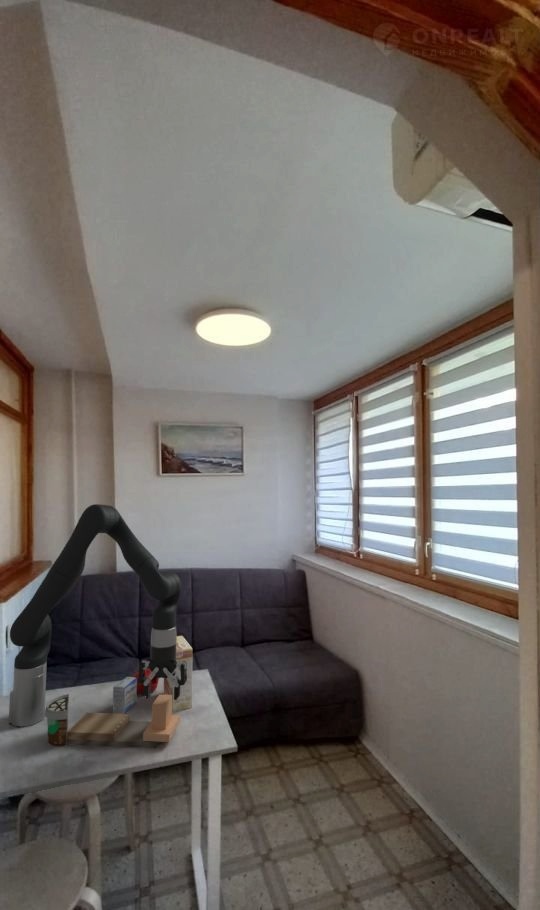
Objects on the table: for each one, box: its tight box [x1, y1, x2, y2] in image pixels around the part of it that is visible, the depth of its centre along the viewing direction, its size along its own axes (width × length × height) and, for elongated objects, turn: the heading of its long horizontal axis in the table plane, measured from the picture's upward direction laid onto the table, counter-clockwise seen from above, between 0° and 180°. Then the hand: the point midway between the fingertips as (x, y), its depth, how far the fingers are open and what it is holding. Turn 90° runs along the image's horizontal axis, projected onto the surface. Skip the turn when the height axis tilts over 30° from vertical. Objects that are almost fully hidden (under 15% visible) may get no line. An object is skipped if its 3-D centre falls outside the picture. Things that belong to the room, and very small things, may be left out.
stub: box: [143, 694, 181, 743], centre depth 127 cm, size 8×11×9 cm
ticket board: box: [66, 712, 160, 749], centre depth 128 cm, size 26×11×4 cm, turn 86°
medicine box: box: [112, 676, 138, 714], centre depth 144 cm, size 8×4×9 cm, turn 168°
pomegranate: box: [132, 668, 160, 695], centre depth 157 cm, size 10×10×9 cm
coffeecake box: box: [163, 635, 193, 713], centre depth 150 cm, size 15×7×20 cm, turn 25°
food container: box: [44, 693, 70, 747], centre depth 126 cm, size 12×6×10 cm, turn 23°
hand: (162, 698), depth 127 cm, fingers open, 8 cm apart
